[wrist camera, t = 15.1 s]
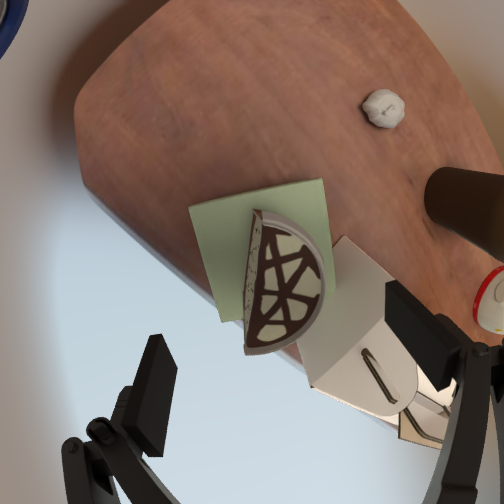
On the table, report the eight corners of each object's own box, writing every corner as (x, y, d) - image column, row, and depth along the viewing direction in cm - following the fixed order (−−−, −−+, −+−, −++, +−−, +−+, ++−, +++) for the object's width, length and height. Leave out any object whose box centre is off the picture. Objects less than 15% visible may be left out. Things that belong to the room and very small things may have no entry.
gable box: (281, 302, 43) (333, 476, 17) (342, 233, 40) (477, 360, 14) (370, 360, 49) (436, 483, 22) (421, 308, 46) (516, 414, 19)
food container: (293, 306, 34) (313, 362, 25) (240, 303, 33) (244, 360, 24) (313, 201, 30) (348, 226, 21) (254, 194, 29) (264, 216, 20)
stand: (223, 291, 42) (221, 322, 34) (197, 195, 37) (187, 207, 29) (319, 270, 42) (337, 296, 34) (304, 172, 37) (322, 178, 29)
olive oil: (418, 165, 37) (559, 201, 14) (465, 161, 37) (589, 193, 13) (421, 233, 41) (540, 308, 17) (466, 222, 41) (576, 280, 17)
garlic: (362, 131, 35) (380, 130, 30) (353, 93, 33) (370, 87, 28) (398, 127, 35) (418, 126, 30) (390, 90, 33) (409, 85, 28)
